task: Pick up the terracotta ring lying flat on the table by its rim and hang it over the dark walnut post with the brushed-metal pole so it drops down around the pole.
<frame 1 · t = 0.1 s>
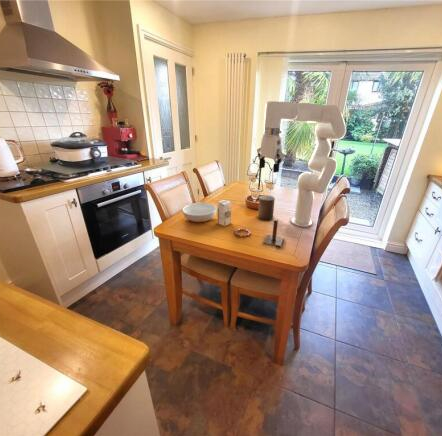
hand: (268, 169, 112), 37 cm above the table, tool pointing down, fingers open, 9 cm apart
pillar candle: (265, 217, 152), on the table
syrup box: (224, 224, 141), on the table
serving bowl: (200, 218, 147), on the table
post: (273, 242, 124), on the table
ring: (242, 233, 130), point 1 cm above the table
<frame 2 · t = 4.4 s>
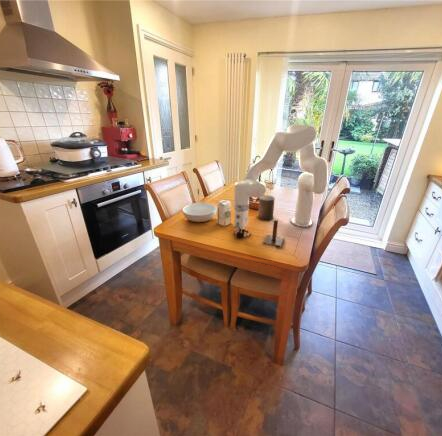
hand: (240, 237, 127), 0 cm above the table, tool pointing down, fingers closed on ring, 2 cm apart
ring: (242, 233, 129), point 1 cm above the table, touching gripper
everything else where it was.
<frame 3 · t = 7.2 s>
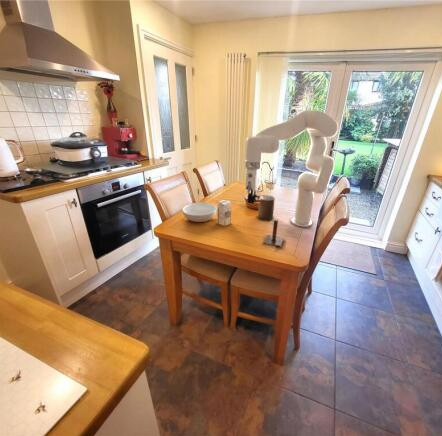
hand: (251, 201, 116), 22 cm above the table, tool pointing down, fingers closed on ring
ring: (253, 198, 118), point 23 cm above the table, touching gripper
everything else where it was.
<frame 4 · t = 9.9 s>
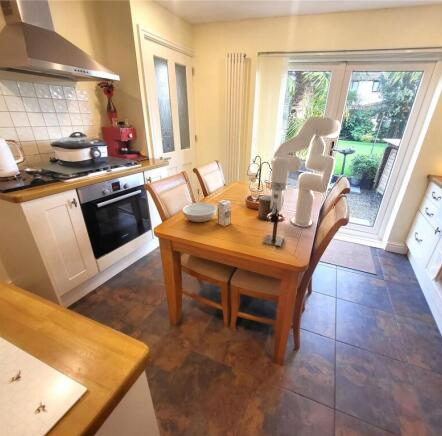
hand: (274, 221, 114), 14 cm above the table, tool pointing down, fingers closed on ring
ring: (276, 217, 117), point 15 cm above the table, touching gripper
everything else where it was.
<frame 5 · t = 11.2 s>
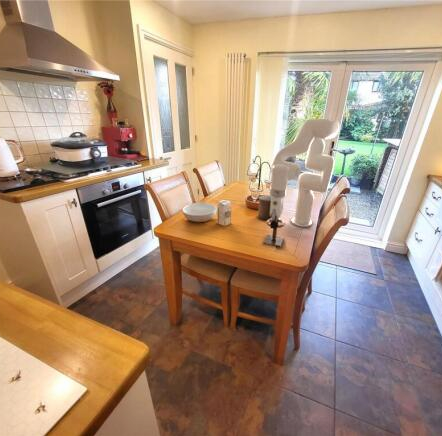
hand: (274, 227, 116), 11 cm above the table, tool pointing down, fingers closed on ring
ring: (275, 222, 119), point 12 cm above the table, touching gripper
everything else where it was.
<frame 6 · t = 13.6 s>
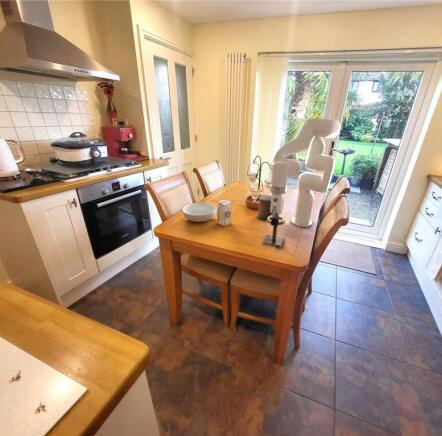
hand: (274, 224, 115), 12 cm above the table, tool pointing down, fingers closed on ring
ring: (276, 220, 118), point 13 cm above the table, touching gripper
everything else where it was.
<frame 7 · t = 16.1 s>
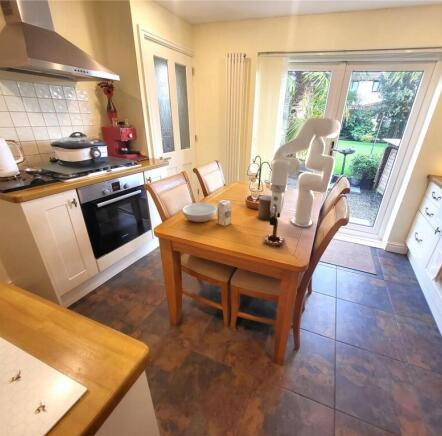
hand: (274, 220, 114), 14 cm above the table, tool pointing down, fingers open, 9 cm apart
ring: (273, 239, 122), point 2 cm above the table, touching post
everything else where it was.
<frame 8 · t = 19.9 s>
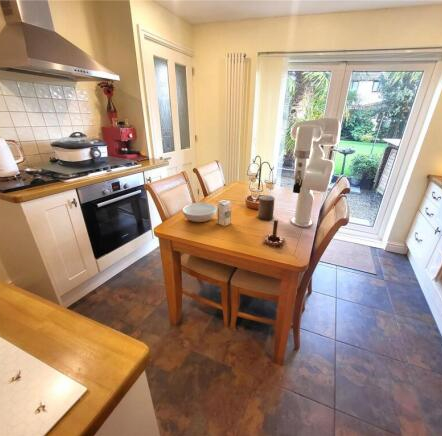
hand: (297, 189, 115), 28 cm above the table, tool pointing down, fingers open, 9 cm apart
nothing on the table moved.
at the end: ring 1.0 cm off-centre on the post, point 2.0 cm above the post's base; the gripper is holding nothing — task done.
